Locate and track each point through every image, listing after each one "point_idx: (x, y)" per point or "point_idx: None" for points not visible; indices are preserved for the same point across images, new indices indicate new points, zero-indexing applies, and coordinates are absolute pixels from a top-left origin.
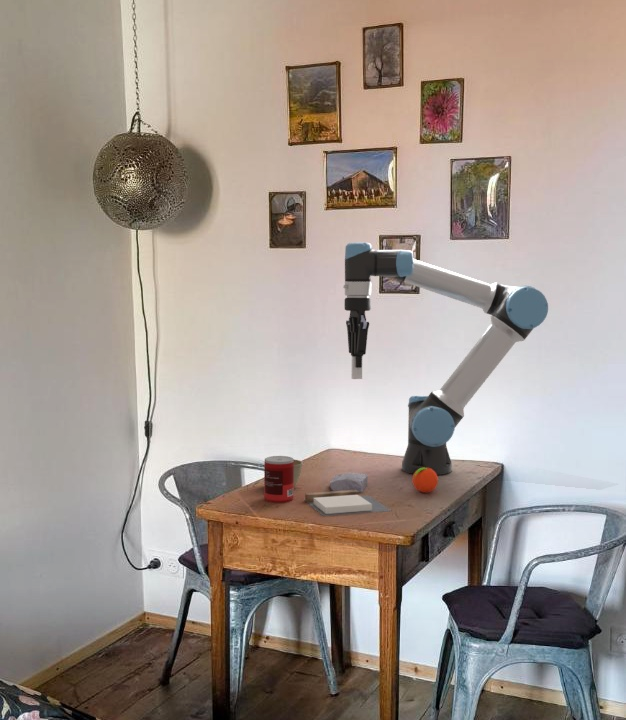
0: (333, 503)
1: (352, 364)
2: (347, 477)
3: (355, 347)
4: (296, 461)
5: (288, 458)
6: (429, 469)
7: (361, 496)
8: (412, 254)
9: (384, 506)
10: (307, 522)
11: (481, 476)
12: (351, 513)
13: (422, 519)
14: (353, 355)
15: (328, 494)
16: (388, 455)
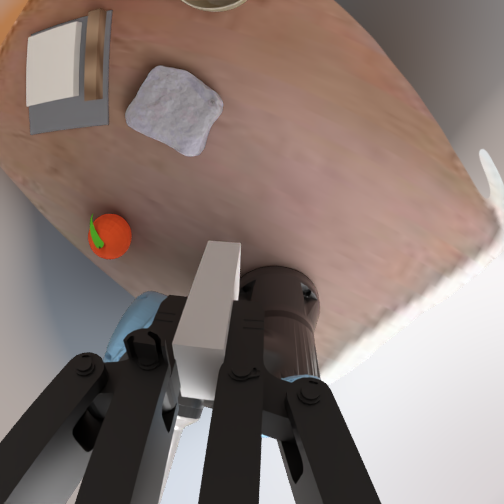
0: (41, 49)
1: (212, 297)
2: (158, 102)
3: (107, 415)
4: (233, 3)
5: None
6: (93, 249)
7: (104, 109)
8: None
9: (48, 130)
10: (22, 15)
11: None
12: None
13: (5, 163)
14: (129, 337)
15: (86, 46)
16: (409, 297)
